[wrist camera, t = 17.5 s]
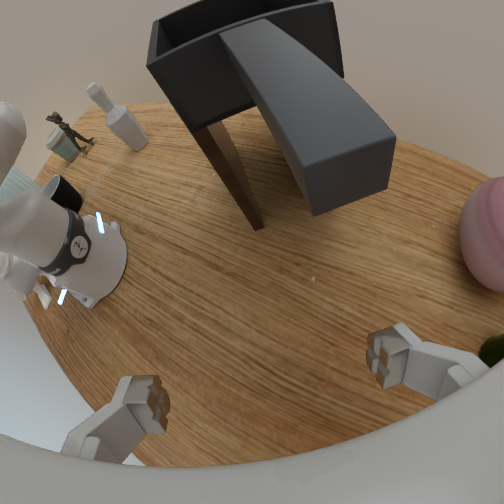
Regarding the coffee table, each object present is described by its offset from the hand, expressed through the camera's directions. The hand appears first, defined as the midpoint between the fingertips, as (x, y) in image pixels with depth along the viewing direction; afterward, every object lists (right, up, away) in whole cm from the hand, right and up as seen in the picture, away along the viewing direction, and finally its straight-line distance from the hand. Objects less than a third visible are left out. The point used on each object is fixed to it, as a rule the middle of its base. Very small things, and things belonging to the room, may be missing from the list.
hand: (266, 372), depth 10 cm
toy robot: (-52, -4, +46) cm, 69 cm away
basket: (0, +15, +7) cm, 16 cm away
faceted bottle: (-29, +32, +53) cm, 68 cm away
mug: (-49, +15, +53) cm, 73 cm away
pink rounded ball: (+35, +4, +21) cm, 41 cm away
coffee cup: (-61, +37, +66) cm, 97 cm away
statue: (-51, +37, +63) cm, 89 cm away
